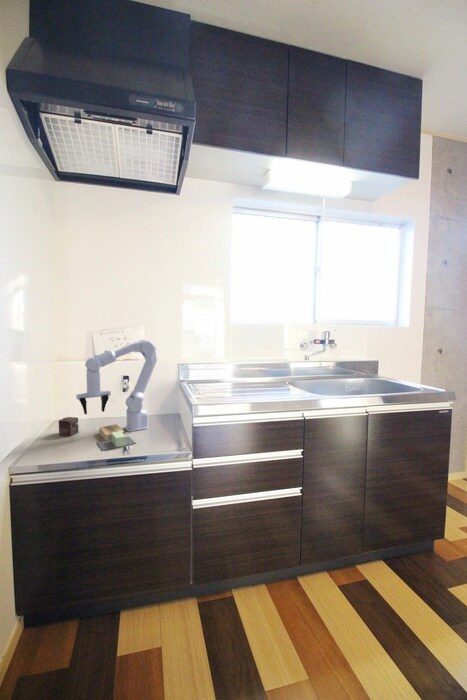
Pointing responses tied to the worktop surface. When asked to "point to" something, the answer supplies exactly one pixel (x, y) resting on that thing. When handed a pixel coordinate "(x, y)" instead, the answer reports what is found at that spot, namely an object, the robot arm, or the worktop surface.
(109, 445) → the mat
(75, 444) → the worktop surface
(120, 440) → the block
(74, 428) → the box
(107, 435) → the step
